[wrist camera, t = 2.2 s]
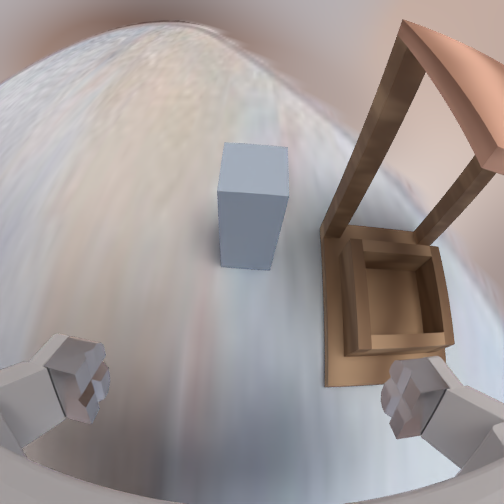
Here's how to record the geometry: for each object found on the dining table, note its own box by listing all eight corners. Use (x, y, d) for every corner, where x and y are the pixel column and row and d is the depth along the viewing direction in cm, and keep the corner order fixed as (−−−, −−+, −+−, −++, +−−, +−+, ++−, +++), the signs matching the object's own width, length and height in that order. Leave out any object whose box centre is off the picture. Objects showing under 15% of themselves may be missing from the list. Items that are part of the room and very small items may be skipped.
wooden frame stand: (324, 387, 22) (555, 297, 4) (319, 228, 29) (402, 19, 11) (440, 377, 22) (640, 291, 5) (421, 238, 29) (537, 86, 11)
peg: (221, 266, 26) (217, 190, 17) (225, 225, 28) (224, 142, 19) (269, 270, 26) (289, 196, 18) (270, 229, 28) (287, 147, 19)
